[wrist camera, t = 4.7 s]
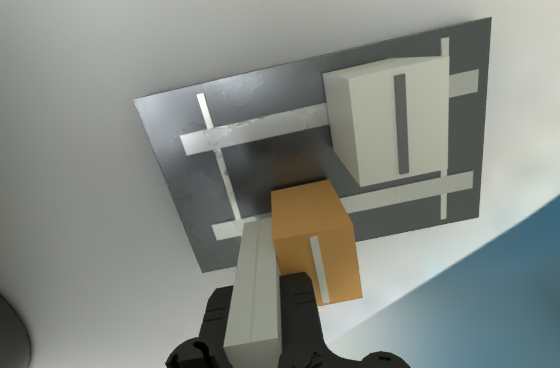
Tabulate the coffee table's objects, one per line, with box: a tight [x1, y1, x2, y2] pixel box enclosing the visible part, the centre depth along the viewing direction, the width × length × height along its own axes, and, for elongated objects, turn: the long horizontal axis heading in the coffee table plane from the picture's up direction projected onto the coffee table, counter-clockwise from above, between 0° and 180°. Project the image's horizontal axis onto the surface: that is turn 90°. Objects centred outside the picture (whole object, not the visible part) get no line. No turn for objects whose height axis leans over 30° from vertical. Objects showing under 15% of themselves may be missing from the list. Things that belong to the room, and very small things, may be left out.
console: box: [133, 17, 492, 273], centre depth 15 cm, size 16×10×2 cm, turn 102°
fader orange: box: [271, 179, 363, 306], centre depth 13 cm, size 3×4×4 cm
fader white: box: [322, 56, 449, 187], centre depth 11 cm, size 3×4×4 cm
